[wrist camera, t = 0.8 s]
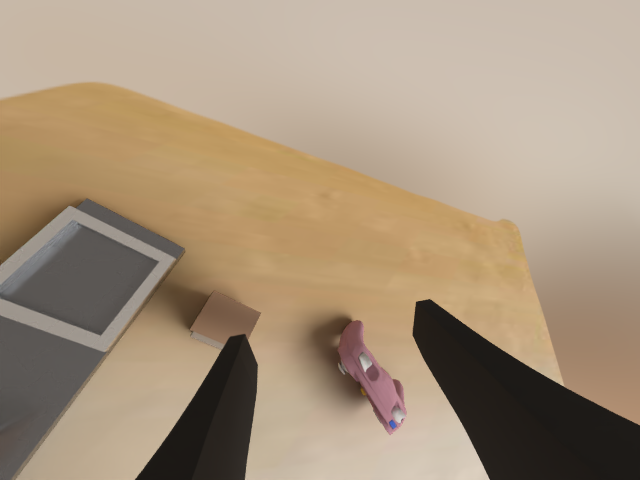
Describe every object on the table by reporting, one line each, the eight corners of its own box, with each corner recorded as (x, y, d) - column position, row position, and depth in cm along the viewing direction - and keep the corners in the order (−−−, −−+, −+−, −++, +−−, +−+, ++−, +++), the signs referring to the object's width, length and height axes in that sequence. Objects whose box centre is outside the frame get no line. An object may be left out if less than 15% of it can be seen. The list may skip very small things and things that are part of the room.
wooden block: (230, 349, 21) (239, 357, 17) (187, 331, 20) (186, 335, 16) (248, 313, 23) (261, 312, 19) (210, 295, 22) (214, 290, 17)
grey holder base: (-49, 565, 12) (-228, 746, 7) (-277, 541, 10) (-774, 779, 5) (185, 251, 22) (182, 230, 16) (92, 204, 19) (55, 163, 14)
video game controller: (324, 336, 27) (333, 365, 20) (356, 314, 28) (375, 335, 21) (368, 405, 27) (393, 458, 20) (399, 382, 28) (433, 426, 21)
